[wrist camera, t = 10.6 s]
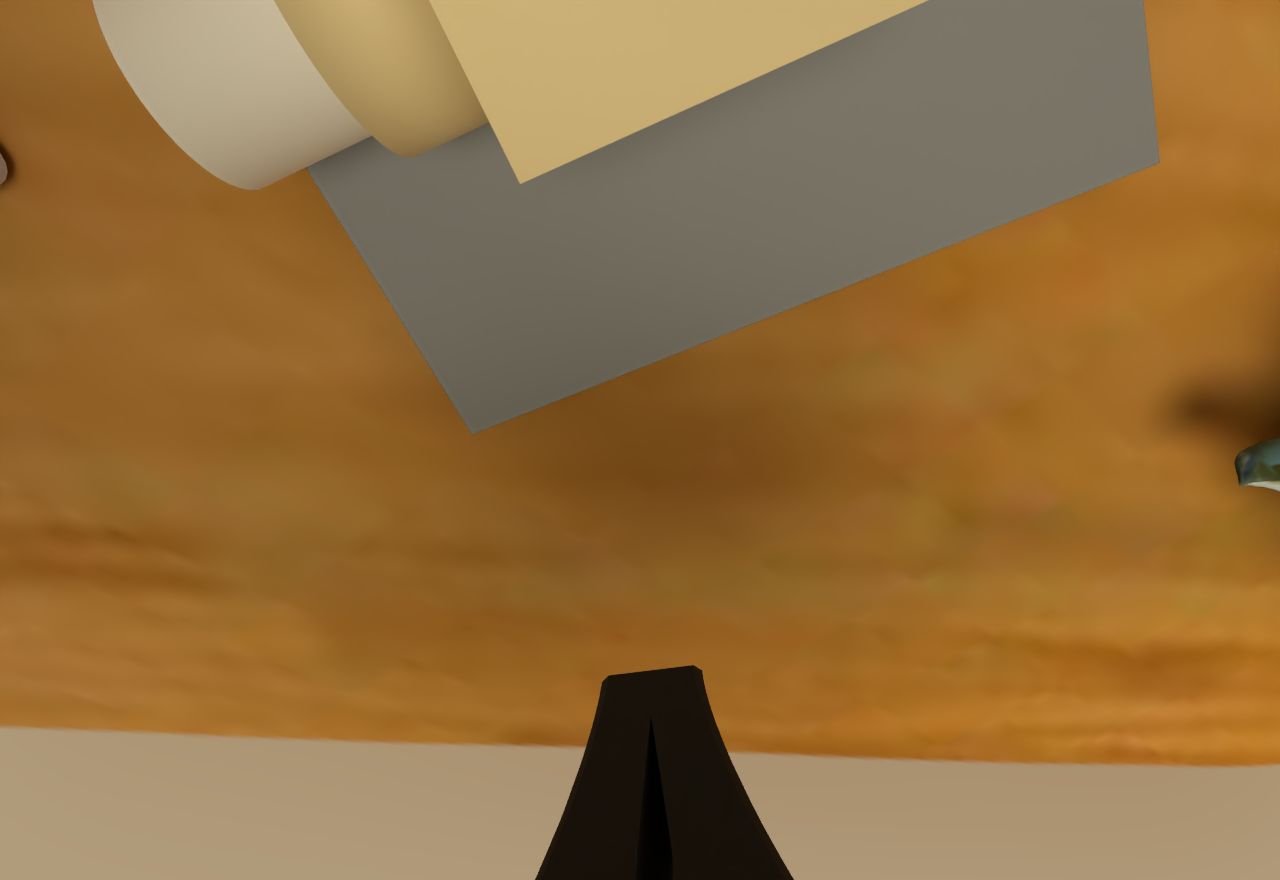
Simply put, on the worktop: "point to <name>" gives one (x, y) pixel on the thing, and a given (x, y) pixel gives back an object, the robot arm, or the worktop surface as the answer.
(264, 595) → the worktop surface
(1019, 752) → the worktop surface
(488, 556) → the worktop surface
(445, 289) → the valve board
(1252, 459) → the passion flower
